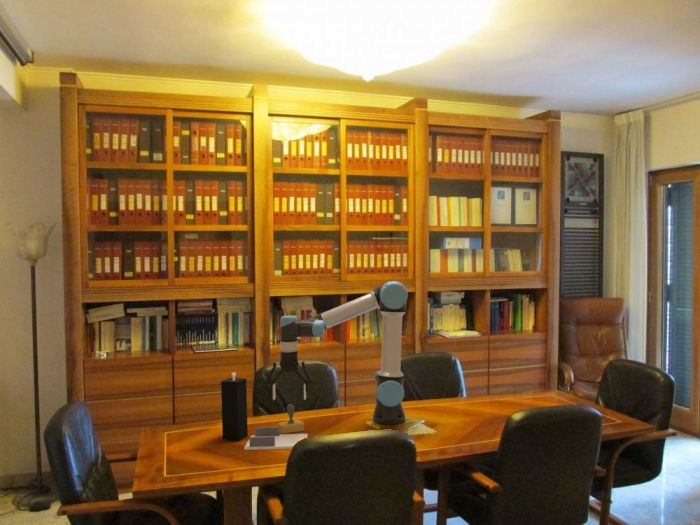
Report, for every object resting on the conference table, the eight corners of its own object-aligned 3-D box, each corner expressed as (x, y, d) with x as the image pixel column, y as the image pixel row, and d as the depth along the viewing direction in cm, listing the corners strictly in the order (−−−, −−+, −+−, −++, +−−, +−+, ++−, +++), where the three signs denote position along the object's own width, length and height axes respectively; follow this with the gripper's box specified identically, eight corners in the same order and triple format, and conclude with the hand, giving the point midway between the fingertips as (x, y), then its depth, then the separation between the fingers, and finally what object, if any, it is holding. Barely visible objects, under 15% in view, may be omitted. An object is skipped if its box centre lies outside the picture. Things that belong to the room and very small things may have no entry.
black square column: (248, 435, 235) (246, 370, 235) (238, 441, 228) (236, 374, 228) (232, 434, 238) (230, 370, 238) (222, 440, 230) (220, 373, 231)
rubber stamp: (299, 427, 245) (299, 401, 245) (304, 431, 240) (303, 403, 240) (278, 431, 241) (277, 404, 241) (282, 434, 236) (281, 406, 236)
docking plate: (307, 436, 233) (307, 425, 233) (304, 448, 217) (304, 436, 217) (251, 437, 233) (251, 426, 233) (244, 450, 217) (244, 438, 217)
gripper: (317, 349, 245) (318, 396, 244) (262, 349, 245) (262, 397, 245) (316, 351, 237) (317, 400, 237) (259, 352, 237) (259, 401, 237)
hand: (289, 399), depth 241 cm, fingers open, 13 cm apart
